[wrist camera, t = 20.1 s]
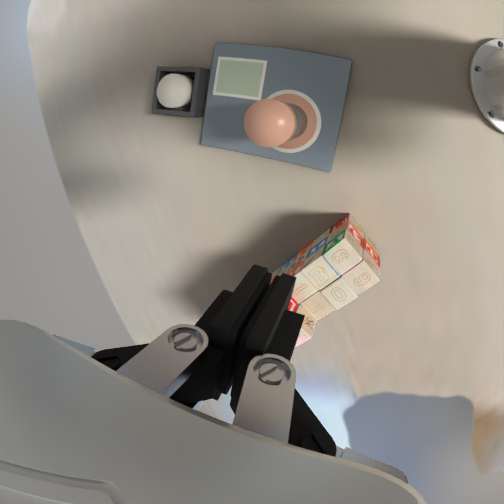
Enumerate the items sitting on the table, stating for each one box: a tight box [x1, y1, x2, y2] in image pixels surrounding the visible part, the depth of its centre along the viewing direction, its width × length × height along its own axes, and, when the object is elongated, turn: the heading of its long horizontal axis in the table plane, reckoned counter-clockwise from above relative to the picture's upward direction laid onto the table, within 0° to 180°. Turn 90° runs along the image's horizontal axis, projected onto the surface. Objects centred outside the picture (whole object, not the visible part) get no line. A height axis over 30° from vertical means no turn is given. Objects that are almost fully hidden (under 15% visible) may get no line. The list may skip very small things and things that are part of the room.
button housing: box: [152, 67, 209, 117], centre depth 38 cm, size 7×7×2 cm
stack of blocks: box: [270, 213, 380, 347], centre depth 39 cm, size 21×6×12 cm, turn 137°
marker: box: [244, 99, 307, 147], centre depth 32 cm, size 5×5×9 cm
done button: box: [157, 74, 194, 108], centre depth 37 cm, size 5×5×2 cm
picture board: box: [201, 43, 352, 173], centre depth 36 cm, size 17×14×1 cm
